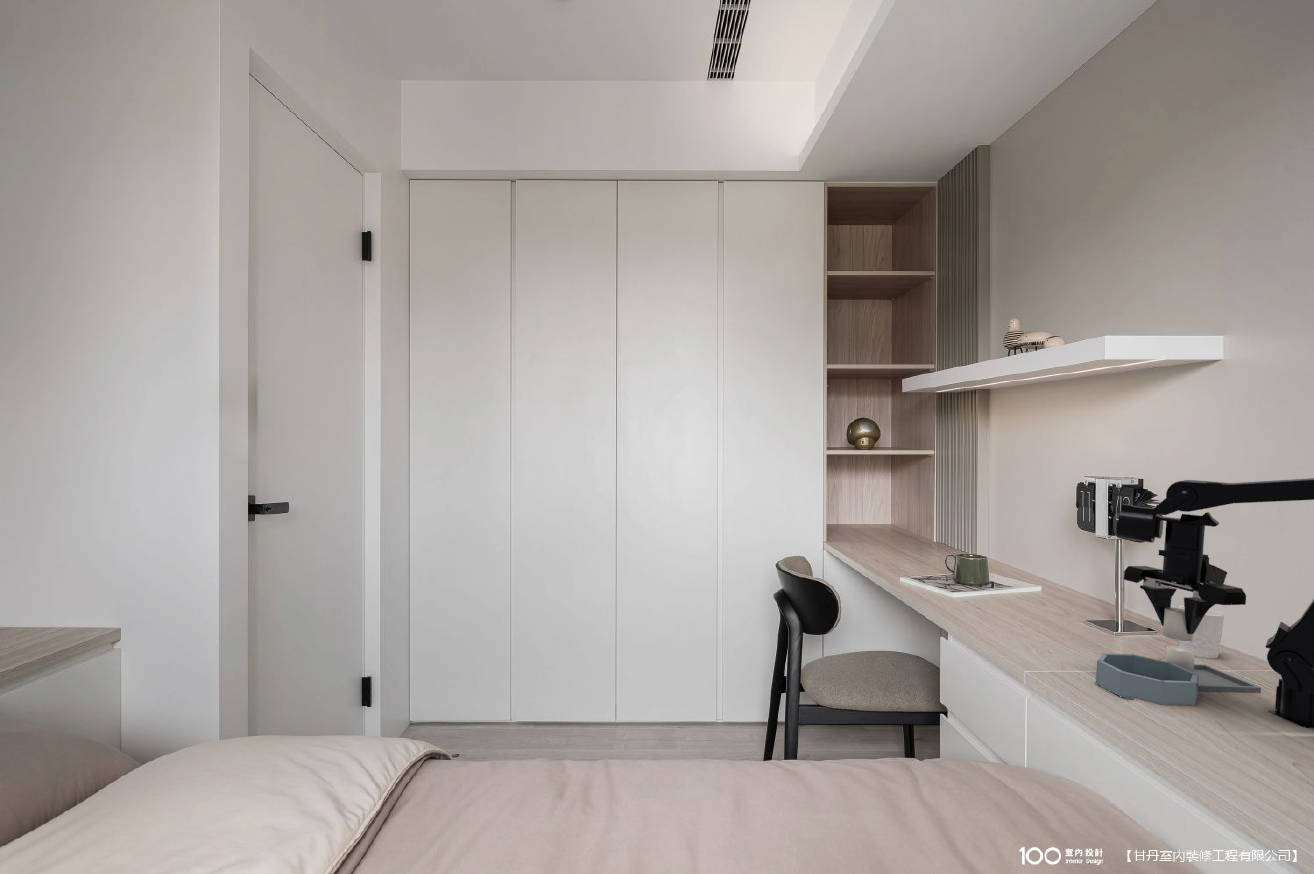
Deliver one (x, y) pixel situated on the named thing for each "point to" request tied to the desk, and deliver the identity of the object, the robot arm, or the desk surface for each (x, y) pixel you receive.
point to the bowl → (1147, 679)
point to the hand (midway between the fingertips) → (1177, 629)
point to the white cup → (1206, 635)
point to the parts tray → (1221, 681)
